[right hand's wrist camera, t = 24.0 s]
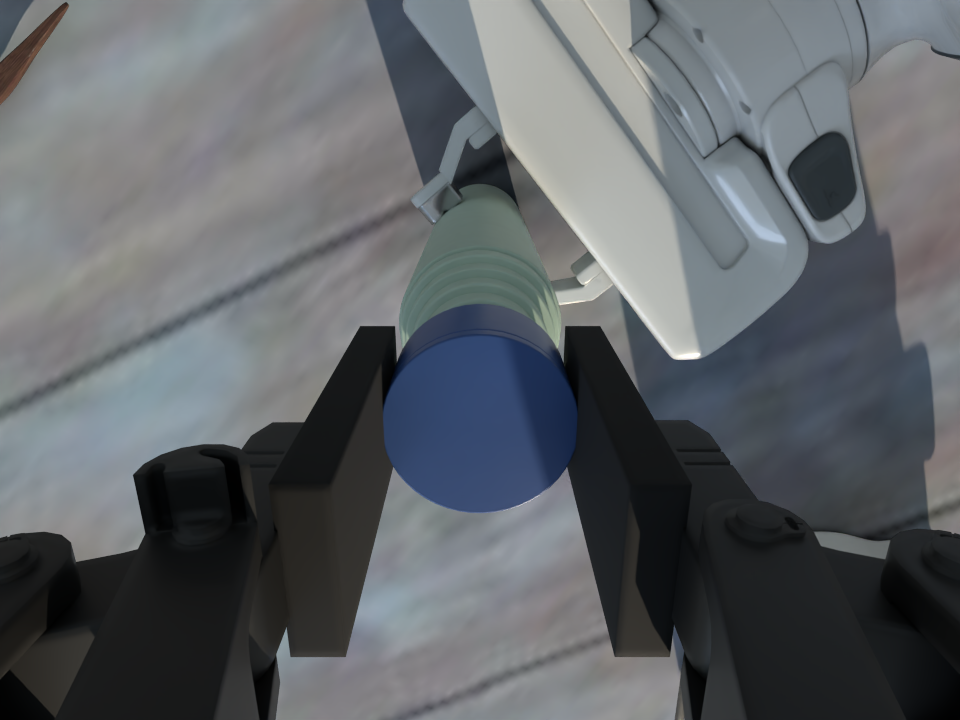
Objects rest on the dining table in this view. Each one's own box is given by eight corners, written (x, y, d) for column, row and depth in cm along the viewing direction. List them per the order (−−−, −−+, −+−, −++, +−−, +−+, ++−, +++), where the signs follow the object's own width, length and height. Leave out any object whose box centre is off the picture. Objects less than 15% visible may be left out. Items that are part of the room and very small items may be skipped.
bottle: (531, 194, 35) (623, 327, 13) (511, 276, 37) (560, 527, 14) (447, 174, 35) (386, 276, 12) (430, 258, 36) (349, 485, 14)
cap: (598, 352, 14) (617, 391, 12) (513, 486, 15) (518, 541, 13) (442, 271, 13) (435, 298, 11) (366, 418, 15) (348, 465, 13)
